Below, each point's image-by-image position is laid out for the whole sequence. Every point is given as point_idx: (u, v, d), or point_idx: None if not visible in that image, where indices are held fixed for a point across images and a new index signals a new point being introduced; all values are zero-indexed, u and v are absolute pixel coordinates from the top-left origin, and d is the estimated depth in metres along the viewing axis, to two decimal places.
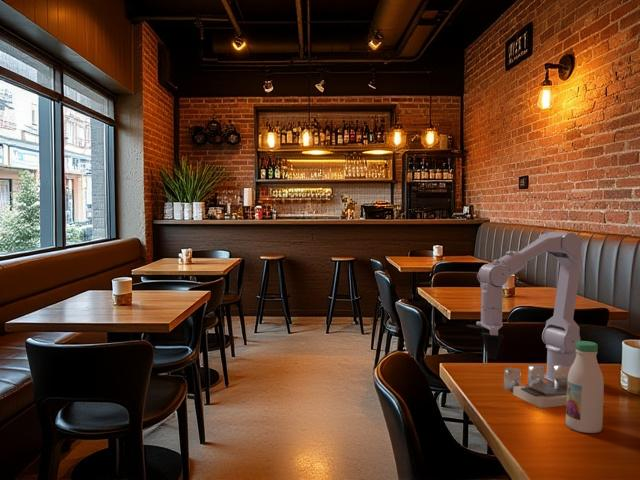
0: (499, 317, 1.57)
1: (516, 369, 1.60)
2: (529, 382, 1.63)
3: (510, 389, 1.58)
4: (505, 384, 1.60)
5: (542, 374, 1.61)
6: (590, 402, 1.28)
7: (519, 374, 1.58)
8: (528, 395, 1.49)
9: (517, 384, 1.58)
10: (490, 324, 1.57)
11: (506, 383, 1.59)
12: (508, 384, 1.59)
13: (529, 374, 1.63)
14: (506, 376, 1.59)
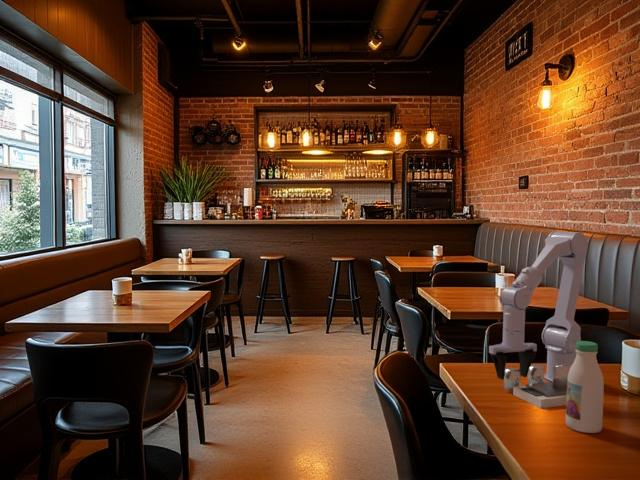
0: (511, 340, 1.57)
1: (516, 369, 1.60)
2: (529, 382, 1.63)
3: (510, 389, 1.58)
4: (505, 384, 1.60)
5: (542, 374, 1.61)
6: (590, 402, 1.28)
7: (519, 374, 1.58)
8: (528, 395, 1.49)
9: (517, 384, 1.58)
10: (503, 345, 1.59)
11: (506, 383, 1.59)
12: (508, 384, 1.59)
13: (529, 374, 1.63)
14: (506, 376, 1.59)
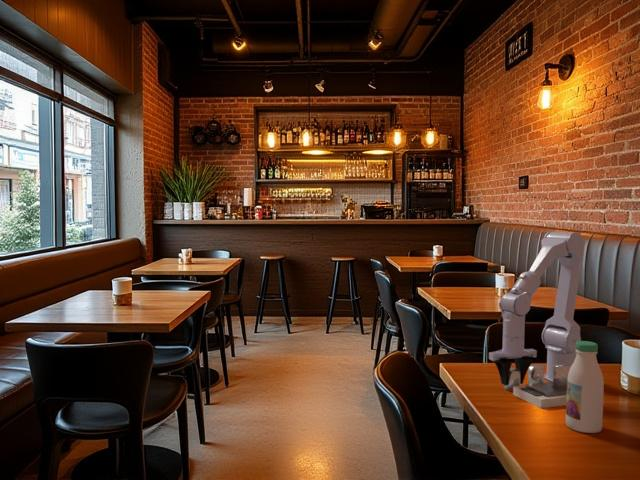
0: (511, 346, 1.57)
1: (516, 369, 1.60)
2: (529, 382, 1.63)
3: (510, 389, 1.58)
4: None
5: (542, 374, 1.61)
6: (590, 402, 1.28)
7: (519, 374, 1.58)
8: (528, 395, 1.49)
9: (517, 384, 1.58)
10: (503, 351, 1.59)
11: None
12: (508, 384, 1.59)
13: (529, 374, 1.63)
14: None
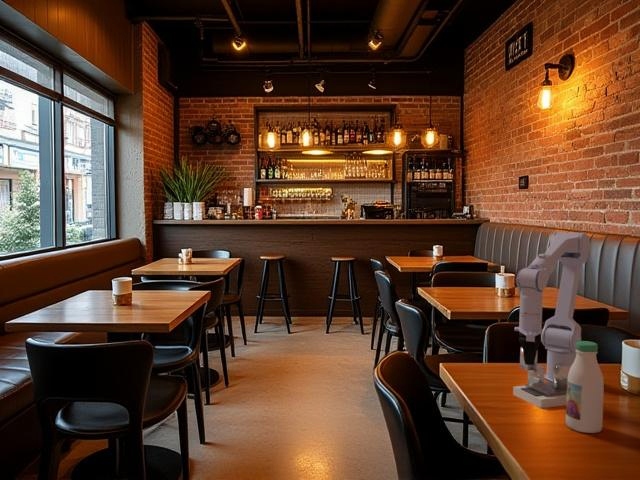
0: (538, 323, 1.52)
1: None
2: (529, 382, 1.63)
3: (533, 368, 1.53)
4: (527, 365, 1.53)
5: (542, 374, 1.61)
6: (590, 402, 1.28)
7: None
8: (528, 395, 1.49)
9: None
10: (528, 330, 1.52)
11: None
12: None
13: (529, 374, 1.63)
14: None
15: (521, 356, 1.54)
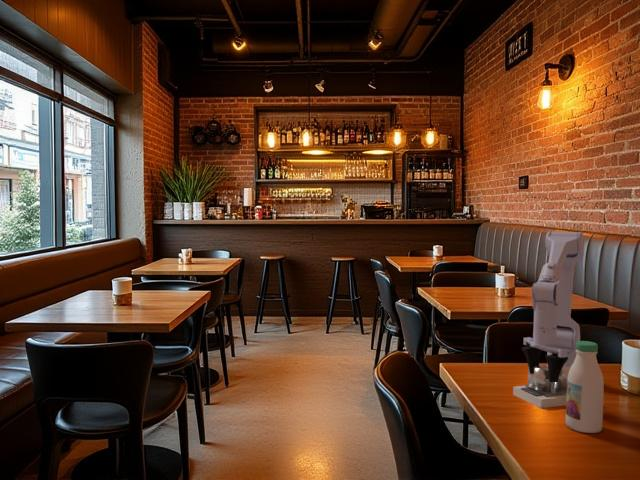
0: (556, 337, 1.49)
1: (541, 366, 1.52)
2: (529, 382, 1.63)
3: (550, 388, 1.50)
4: (547, 385, 1.49)
5: None
6: (590, 402, 1.28)
7: None
8: (528, 395, 1.49)
9: None
10: (550, 345, 1.48)
11: (549, 383, 1.49)
12: (550, 384, 1.50)
13: (529, 374, 1.63)
14: (548, 376, 1.49)
15: (539, 377, 1.49)
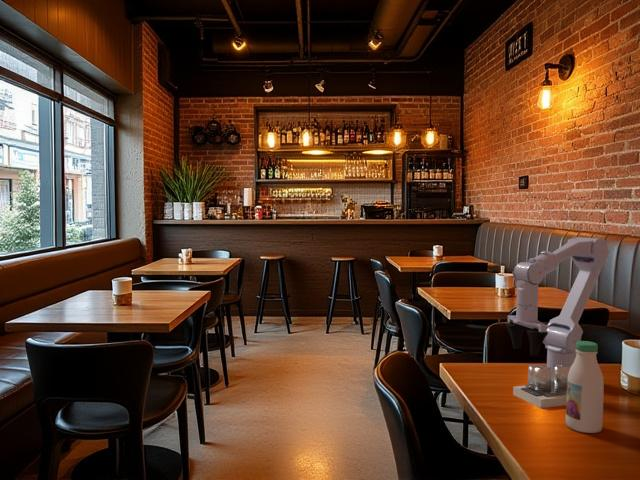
0: (537, 314, 1.60)
1: (540, 366, 1.52)
2: (529, 382, 1.63)
3: (550, 388, 1.50)
4: (547, 385, 1.49)
5: None
6: (590, 402, 1.28)
7: None
8: (528, 395, 1.49)
9: None
10: (531, 321, 1.59)
11: (549, 383, 1.49)
12: (550, 384, 1.50)
13: (529, 374, 1.63)
14: (548, 376, 1.49)
15: (539, 377, 1.50)
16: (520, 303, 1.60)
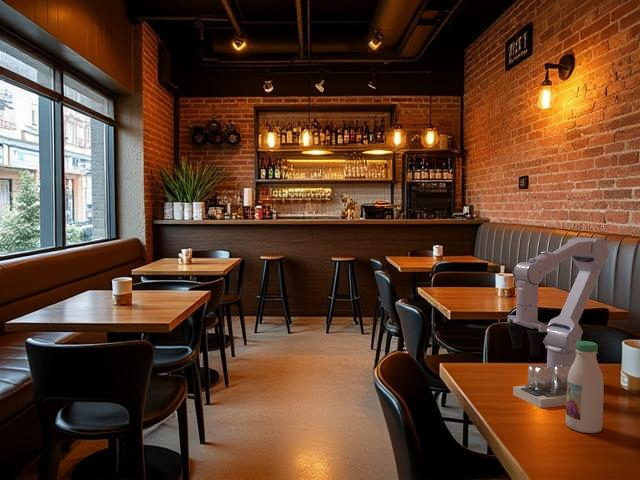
0: (536, 314, 1.60)
1: (541, 366, 1.52)
2: (529, 382, 1.63)
3: None
4: (547, 385, 1.49)
5: None
6: (590, 402, 1.28)
7: None
8: (528, 395, 1.49)
9: None
10: (531, 321, 1.59)
11: (549, 383, 1.49)
12: (550, 384, 1.50)
13: (529, 374, 1.63)
14: (549, 376, 1.49)
15: (540, 377, 1.49)
16: (520, 303, 1.60)
